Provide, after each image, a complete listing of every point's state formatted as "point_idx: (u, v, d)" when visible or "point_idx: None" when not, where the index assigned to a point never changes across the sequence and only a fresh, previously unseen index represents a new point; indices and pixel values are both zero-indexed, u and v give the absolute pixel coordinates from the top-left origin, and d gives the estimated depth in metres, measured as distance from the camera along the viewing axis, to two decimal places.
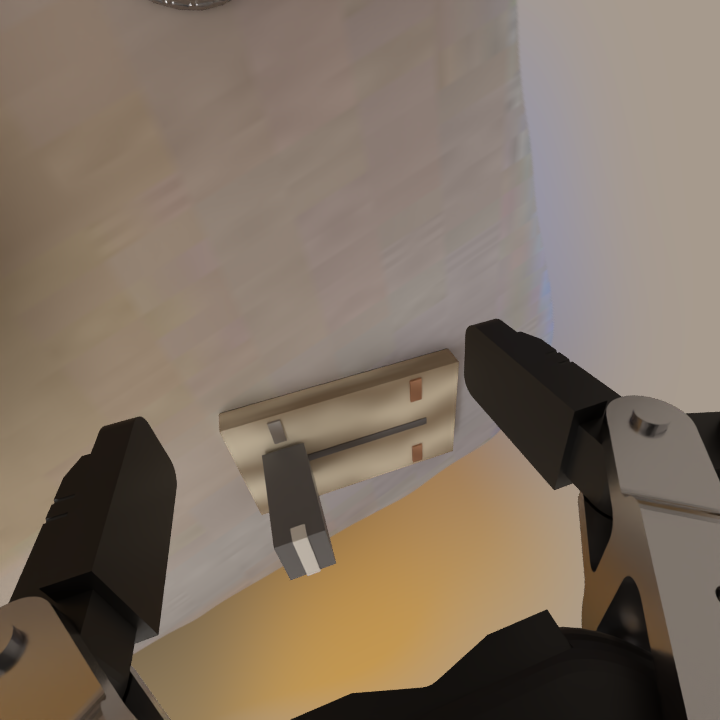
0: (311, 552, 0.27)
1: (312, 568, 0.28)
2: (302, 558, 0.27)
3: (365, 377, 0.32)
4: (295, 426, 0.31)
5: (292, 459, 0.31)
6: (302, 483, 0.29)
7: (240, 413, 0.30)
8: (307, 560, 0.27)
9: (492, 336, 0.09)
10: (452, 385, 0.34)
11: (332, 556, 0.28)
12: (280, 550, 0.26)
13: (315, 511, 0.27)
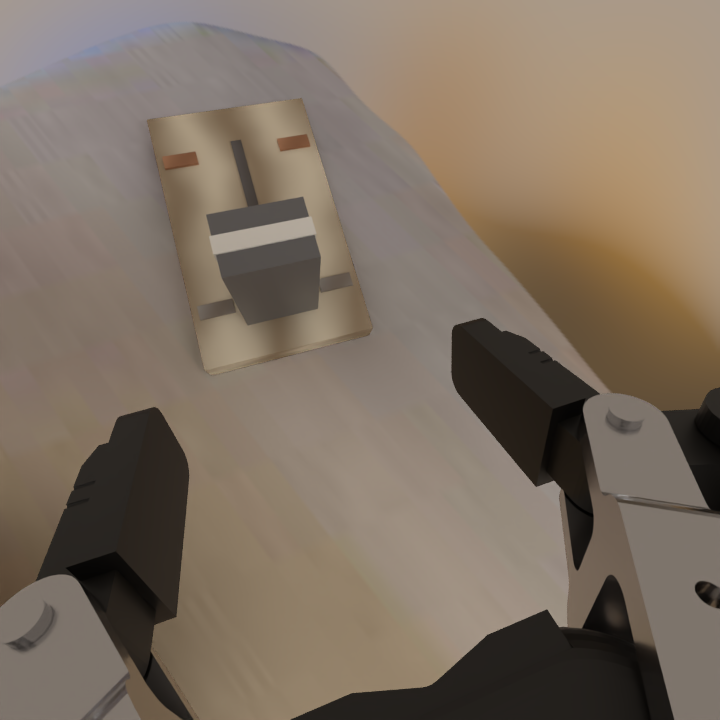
0: (251, 229, 0.19)
1: (298, 226, 0.20)
2: (263, 241, 0.19)
3: None
4: (214, 289, 0.27)
5: None
6: None
7: None
8: (272, 234, 0.19)
9: (476, 335, 0.09)
10: (183, 120, 0.30)
11: (281, 202, 0.20)
12: (231, 270, 0.19)
13: None
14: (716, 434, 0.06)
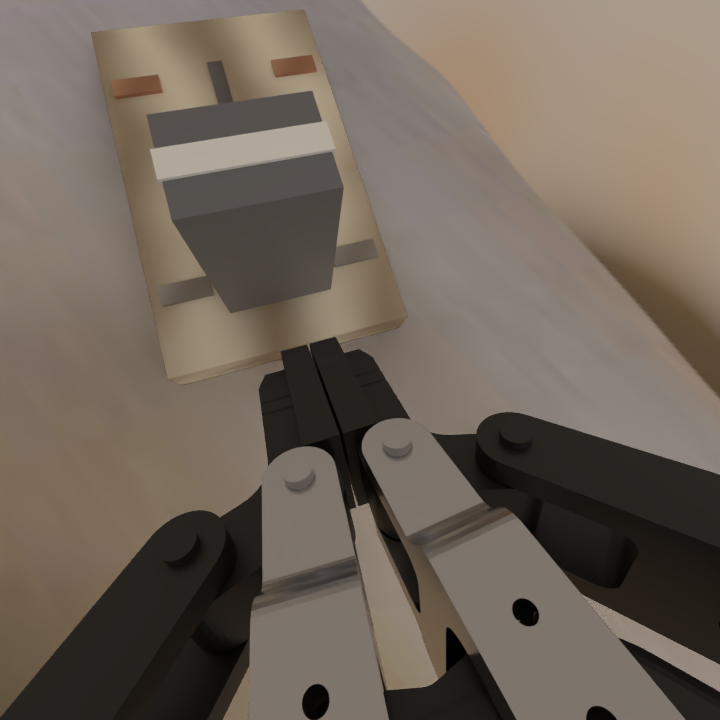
0: (225, 140, 0.11)
1: (305, 137, 0.12)
2: (245, 159, 0.11)
3: None
4: (182, 263, 0.19)
5: None
6: None
7: None
8: (261, 148, 0.11)
9: (318, 355, 0.09)
10: (141, 33, 0.21)
11: (275, 98, 0.12)
12: (188, 206, 0.11)
13: None
14: (501, 476, 0.06)
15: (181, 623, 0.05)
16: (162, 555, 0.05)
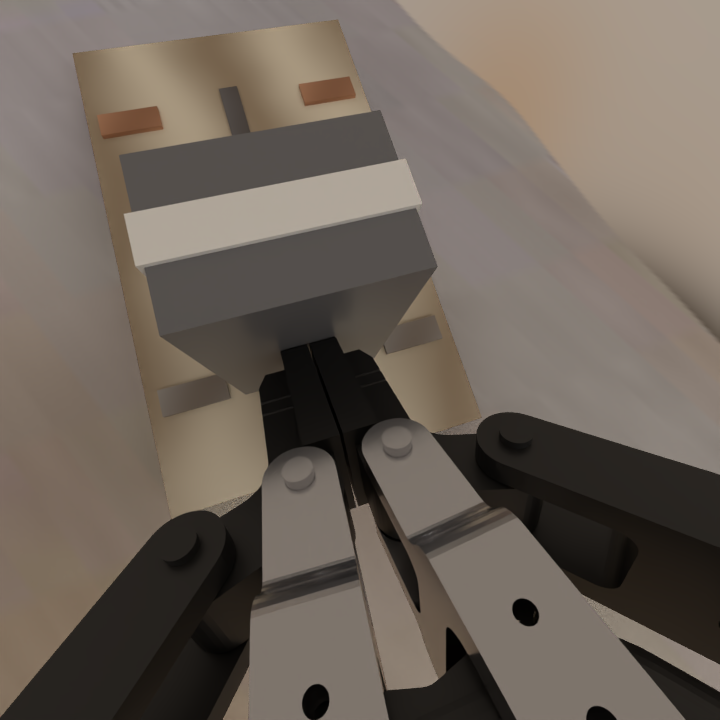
0: (247, 195, 0.07)
1: (374, 186, 0.07)
2: (280, 226, 0.07)
3: None
4: None
5: None
6: None
7: None
8: (305, 206, 0.07)
9: (318, 355, 0.09)
10: (136, 53, 0.17)
11: (324, 124, 0.08)
12: (188, 310, 0.06)
13: None
14: (501, 476, 0.06)
15: (181, 623, 0.05)
16: (162, 555, 0.05)
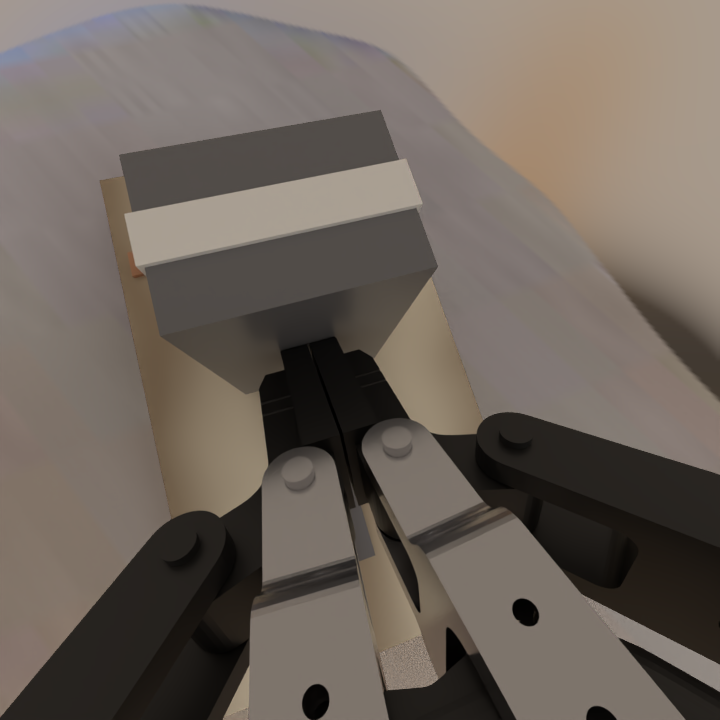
0: (247, 195, 0.07)
1: (374, 186, 0.07)
2: (281, 226, 0.07)
3: None
4: None
5: None
6: None
7: None
8: (306, 206, 0.07)
9: (318, 355, 0.09)
10: None
11: (324, 124, 0.08)
12: (188, 310, 0.06)
13: None
14: (501, 476, 0.06)
15: (181, 623, 0.05)
16: (162, 555, 0.05)
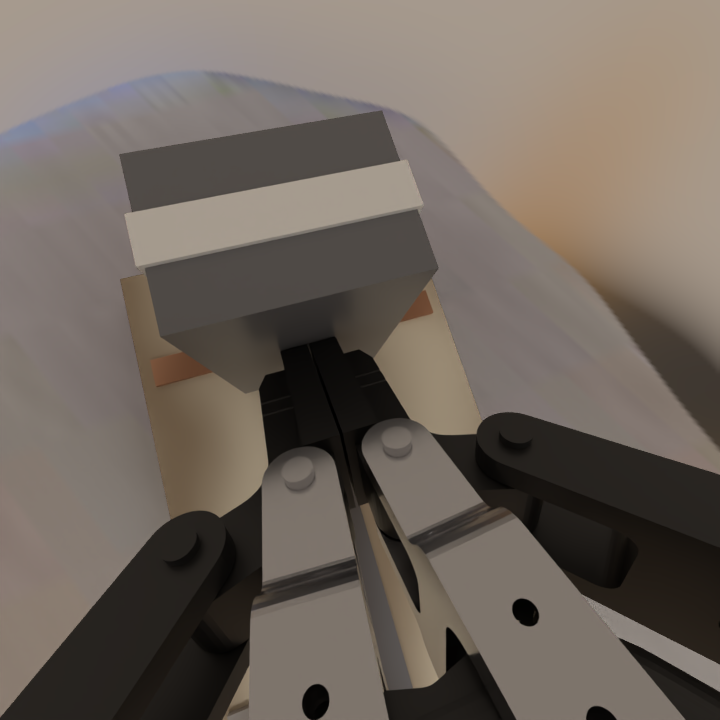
0: (248, 195, 0.07)
1: (375, 187, 0.07)
2: (281, 227, 0.07)
3: None
4: None
5: None
6: None
7: None
8: (306, 207, 0.07)
9: (318, 355, 0.09)
10: None
11: (325, 124, 0.08)
12: (189, 311, 0.06)
13: None
14: (501, 476, 0.06)
15: (180, 624, 0.05)
16: (162, 555, 0.05)
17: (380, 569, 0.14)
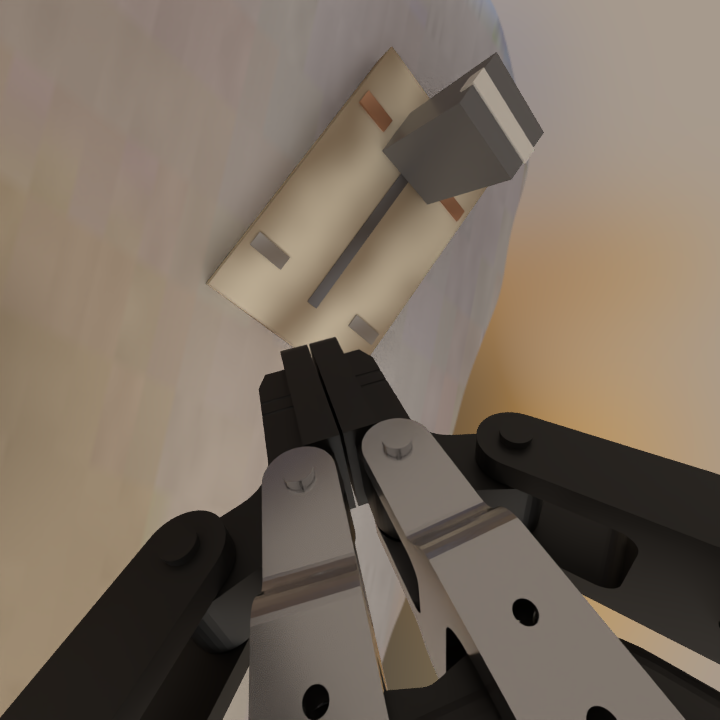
0: (504, 104, 0.20)
1: (523, 144, 0.21)
2: (501, 121, 0.20)
3: (316, 141, 0.26)
4: (285, 234, 0.25)
5: (411, 117, 0.25)
6: (438, 97, 0.23)
7: (222, 263, 0.25)
8: (509, 126, 0.21)
9: (318, 355, 0.09)
10: (412, 85, 0.27)
11: (532, 116, 0.21)
12: (468, 107, 0.20)
13: (471, 71, 0.21)
14: (501, 476, 0.06)
15: (180, 623, 0.05)
16: (162, 555, 0.05)
17: (349, 264, 0.27)
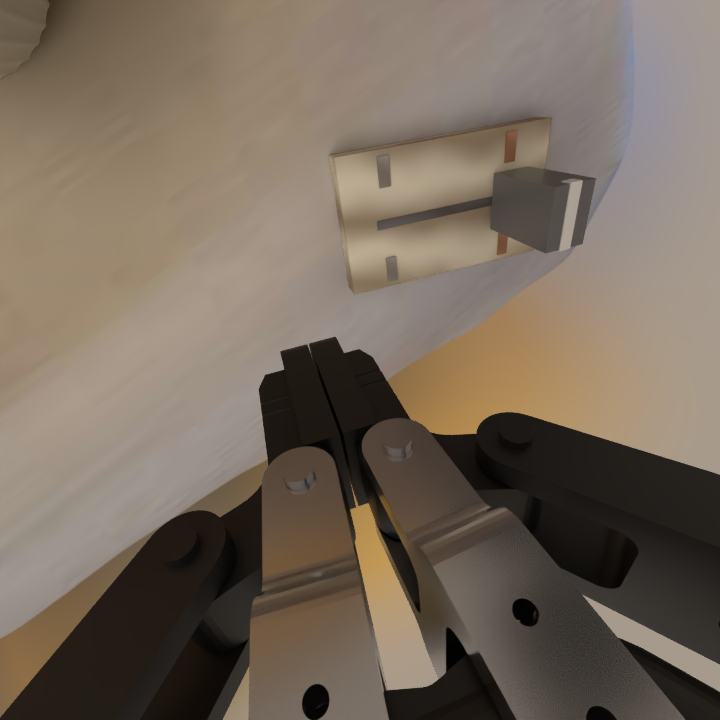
0: (576, 209, 0.30)
1: (566, 240, 0.31)
2: (566, 217, 0.30)
3: (463, 131, 0.34)
4: (400, 170, 0.33)
5: (526, 170, 0.34)
6: (549, 173, 0.32)
7: (349, 152, 0.32)
8: (568, 223, 0.30)
9: (318, 355, 0.09)
10: (543, 151, 0.35)
11: (584, 229, 0.31)
12: (557, 194, 0.29)
13: (576, 176, 0.30)
14: (501, 476, 0.06)
15: (181, 623, 0.05)
16: (162, 555, 0.05)
17: (418, 222, 0.35)
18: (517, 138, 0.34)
